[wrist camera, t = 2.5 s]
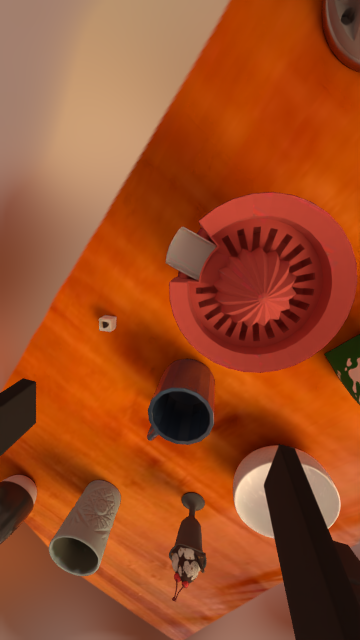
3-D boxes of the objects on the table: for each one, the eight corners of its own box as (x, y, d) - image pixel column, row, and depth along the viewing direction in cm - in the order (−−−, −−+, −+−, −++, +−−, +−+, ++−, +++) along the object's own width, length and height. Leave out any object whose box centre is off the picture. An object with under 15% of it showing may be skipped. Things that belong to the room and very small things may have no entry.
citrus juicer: (209, 195, 34) (198, 122, 15) (316, 251, 34) (442, 249, 15) (164, 290, 39) (112, 325, 20) (257, 339, 39) (294, 423, 20)
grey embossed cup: (91, 510, 57) (59, 575, 45) (77, 477, 54) (39, 536, 43) (129, 509, 55) (106, 577, 43) (117, 475, 52) (88, 537, 41)
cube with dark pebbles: (105, 314, 42) (98, 318, 39) (116, 316, 42) (110, 320, 39) (104, 326, 42) (98, 330, 40) (116, 328, 42) (110, 332, 40)
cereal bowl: (317, 505, 46) (334, 549, 39) (230, 495, 49) (232, 534, 42) (328, 433, 41) (350, 469, 35) (232, 426, 44) (234, 457, 37)
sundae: (174, 505, 52) (157, 601, 38) (183, 485, 50) (169, 578, 36) (202, 517, 52) (196, 618, 37) (212, 496, 50) (210, 595, 35)
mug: (186, 348, 41) (177, 375, 32) (226, 383, 42) (228, 419, 33) (140, 393, 45) (121, 428, 36) (177, 424, 46) (168, 466, 37)
